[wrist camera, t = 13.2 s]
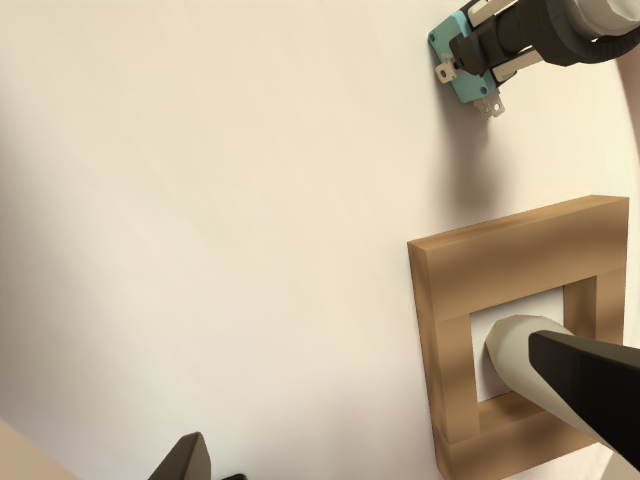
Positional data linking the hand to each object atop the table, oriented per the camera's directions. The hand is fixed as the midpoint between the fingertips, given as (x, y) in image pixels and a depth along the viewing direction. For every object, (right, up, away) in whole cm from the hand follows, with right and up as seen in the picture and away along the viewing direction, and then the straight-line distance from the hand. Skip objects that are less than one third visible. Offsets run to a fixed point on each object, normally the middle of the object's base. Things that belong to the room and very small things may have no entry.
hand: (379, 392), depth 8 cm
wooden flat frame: (+14, -4, +17) cm, 22 cm away
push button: (+7, +15, +12) cm, 20 cm away
